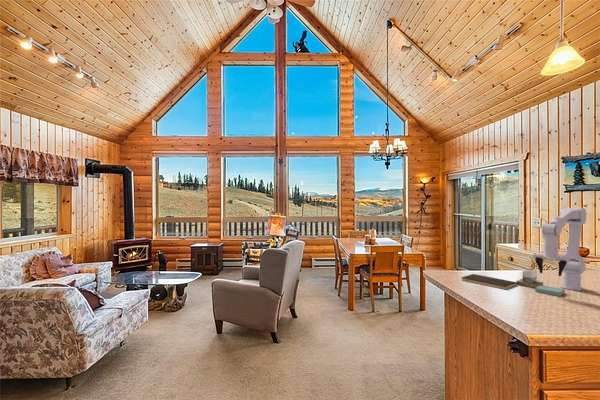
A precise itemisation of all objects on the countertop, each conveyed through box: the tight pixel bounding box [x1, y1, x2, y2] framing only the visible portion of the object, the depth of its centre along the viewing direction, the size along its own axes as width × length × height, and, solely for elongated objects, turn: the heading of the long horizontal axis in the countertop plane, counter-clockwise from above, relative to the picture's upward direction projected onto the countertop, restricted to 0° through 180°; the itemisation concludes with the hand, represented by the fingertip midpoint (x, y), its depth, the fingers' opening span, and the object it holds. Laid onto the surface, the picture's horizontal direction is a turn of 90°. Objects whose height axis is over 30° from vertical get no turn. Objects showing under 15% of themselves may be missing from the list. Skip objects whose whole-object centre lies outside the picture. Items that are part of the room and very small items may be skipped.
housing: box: [522, 268, 538, 284], centre depth 179 cm, size 8×4×6 cm, turn 129°
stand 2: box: [534, 284, 566, 297], centre depth 165 cm, size 10×10×2 cm
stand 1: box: [515, 278, 544, 289], centre depth 179 cm, size 10×10×2 cm
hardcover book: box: [461, 273, 517, 290], centre depth 183 cm, size 16×23×2 cm
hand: (550, 274), depth 162 cm, fingers open, 7 cm apart
